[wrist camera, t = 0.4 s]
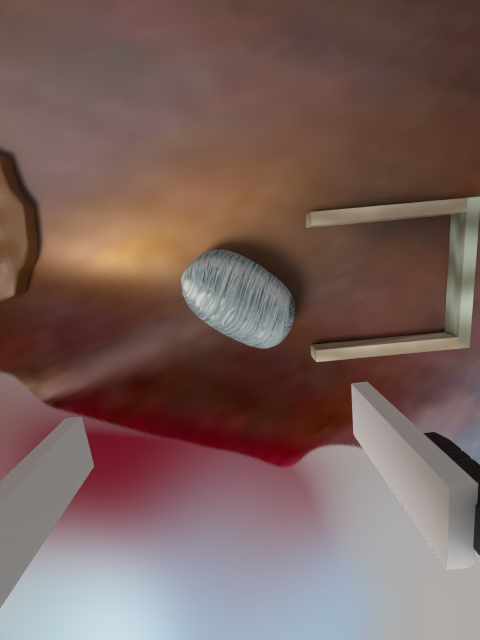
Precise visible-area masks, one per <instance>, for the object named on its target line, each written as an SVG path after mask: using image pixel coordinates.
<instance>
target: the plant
mask: <svg viewBox="0 0 480 640" xmlns="http://www.w3.org/2000/svg"><path fill="white" fill-rule="evenodd" d="M38 248H39V243H38V236H37V228H36V217H35V211H34V208H33V206H32V205H31V203H30V202H29V201H28V200H27V199H26V197H25V196H24V195H23V193H22V191H21V189H20V187H19V184H18V181H17V178H16V176H15V173H14V168H13V164H12V160H11V159H9V158H7V157H4V156H2V155H0V302H3V301H7V300H11V299H14V298H17V297H20V296H22V295H24V294H25V293H26V290H27V285H28V280H29V276H30V273H31V270H32V268H33V267H34V265H35V263H36V261H37V256H38Z"/></svg>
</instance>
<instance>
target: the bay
mask: <svg viewBox="0 0 480 640" xmlns="http://www.w3.org/2000/svg"><path fill="white" fill-rule="evenodd" d="M479 213H480V197H472V198H461V199H449V200H438V201H427V202H416V203H405V204H394V205H383V206H372V207H361V208H350V209H339V210H328V211H317V212H310V213H308V214H306V215H305V218H306V228H310V227H321V226H332V225H343V224H354V223H365V222H376V221H387V220H398V219H409V218H420V217H431V216H442V215H451V225H450V243H449V261H448V279H447V297H446V315H445V332H442V333H431V334H420V335H410V336H399V337H388V338H378V339H367V340H356V341H346V342H335V343H324V344H314V345H311V356H312V357H313V358H314V360H315V361H316V362H320V361H331V360H342V359H352V358H363V357H373V356H384V355H395V354H405V353H416V352H426V351H437V350H448V349H458V348H469V347H470V333H471V320H472V307H473V293H474V280H475V266H476V253H477V240H478V226H479Z"/></svg>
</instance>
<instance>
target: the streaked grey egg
mask: <svg viewBox="0 0 480 640" xmlns="http://www.w3.org/2000/svg"><path fill="white" fill-rule="evenodd" d="M181 288H182V293H183V296H184V298H185V301H186V303H187V304H188V306H189V307H190V309H191V310H192V311H193V312H194V313H195V314H196V315H197V316H198V317H199V318H200V319H202V320H203V321H204V322H206V323H207V324H208V325H210V326H211V327H213V328H214V329H216V330H218V331H219V332H221V333H223V334H225V335H227V336H229V337H231V338H233V339H235V340H237V341H239V342H242V343H244V344H247V345H249V346H253V347H257V348H263V349H264V348H270V347H273V346H276V345H277V344H279V343H281V342H282V341H283V340H284V339H285V337H286V336H287V335H288V333H289V331H290V329H291V327H292V324H293V321H294V316H295V304H294V300H293V297H292V295H291V293H290V292H289V290H288V289H287V287H286V286H285V285H284V284H283V283H282V282H280V281H279V280H278V279H277V278H276V277H275V276H273V275H272V274H271V273H269V272H268V271H267V270H266V269H264V268H263V267H262V266H260V265H259V264H257V263H255V262H253V261H252V260H250V259H248V258H246V257H244V256H242V255H240V254H237V253H235V252H231V251H228V250H224V249H212V250H209V251H206V252H204V253H202V254H201V255H200V256H198V257H197V258H196V259H195V260H194V261H193V262H192V263H191V264H190V266H188V267H187V269H186V270H185V272H184V273H183V275H182V278H181Z"/></svg>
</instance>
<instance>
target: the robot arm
mask: <svg viewBox="0 0 480 640" xmlns="http://www.w3.org/2000/svg"><path fill="white" fill-rule="evenodd" d="M351 387H352V410H353V433H354V436H355V437H356V439H357V440H358V442H359V443H360V445H361V446H362V448H363V449H364V450H365V452H366V453H367V455H368V456H369V458H370V459H371V461H372V462H373V464H374V465H375V466H376V468H377V469H378V471H379V472H380V473H381V475H382V477H383V478H384V480H385V481H386V482H387V484H388V485H389V487H390V488H391V490H392V491H393V493H394V494H395V496H396V497H397V498H398V500H399V501H400V503H401V504H402V506H403V507H404V509H405V510H406V512H407V513H408V514H409V516H410V517H411V519H412V520H413V522H414V523H415V525H416V526H417V528H418V529H419V530H420V532H421V533H422V535H423V536H424V538H425V539H426V541H427V542H428V543H429V545H430V546H431V548H432V549H433V551H434V552H435V554H436V555H437V557H438V558H439V560H440V561H441V562H442V564H443V565H444V567H445V568H446V570H453V569H462V568H470V567H474V551H475V550H476V552H477V553H478V554H479V555H480V465H479V464H478V463H477V462H476V461H474V460H473V459H471V457H470V456H468V455H467V454H466V453H465V452H464V451H461V449H460V448H459V447H458V446H457V445H455V444H454V443H453V442H452V441H451V440H449V439H447V438H445V437H443V436H441V435H439V434H437V433H435V432H431V433H422V432H421V431H420V430H419V429H418V428H417V427H416V426H415V425H414V424H413V423H411V422H410V421H409V420H408V419H407V418H406V417H405V416H404V415H403V414H402V413H401V412H399V411H398V410H397V409H396V408H395V407H394V406H393V405H392V404H391V403H390V402H389V401H387V400H386V399H385V398H384V397H383V396H382V395H381V394H380V393H379V392H378V391H377V390H375V389H374V388H373V387H372V386H371V385H370V384H369V383H368V382H361V383H353V384H351ZM93 467H94V464H93V460H92V456H91V452H90V449H89V445H88V440H87V437H86V433H85V428H84V425H83V420H82V417H74V418H66V419H65V420H64V421H63V422H61V423H60V424H59V426H57V427H56V428H55V429H54V430H53V431H52V432H51V433H50V434H49V435H48V436H47V437H46V438H45V439H44V440H43V441H42V442H41V443H40V444H39V445H38V446H37V447H36V448H35V449H34V450H33V451H32V452H30V453H29V454H28V456H27V457H25V458H24V459H23V460H22V461H21V462H20V463H19V464H18V465H17V466H16V467H15V468H14V469H13V470H12V471H11V472H10V473H9V474H8V475H7V476H6V477H5V478H4V479H3V480H2V481H1V482H0V608H1V606H2V605H3V603H4V602H5V600H6V599H7V597H8V596H9V594H10V592H11V591H12V589H13V588H14V586H15V585H16V583H17V582H18V580H19V579H20V577H21V576H22V574H23V573H24V571H25V570H26V568H27V567H28V565H29V564H30V562H31V561H32V559H33V557H34V556H35V555H36V553H37V552H38V550H39V548H40V547H41V545H42V544H43V542H44V541H45V540H46V538H47V537H48V535H49V533H50V532H51V530H52V529H53V527H54V526H55V524H56V523H57V521H58V520H59V518H60V517H61V515H62V513H63V512H64V511H65V509H66V508H67V506H68V505H69V503H70V502H71V500H72V498H73V497H74V496H75V494H76V493H77V491H78V490H79V488H80V486H81V485H82V483H83V482H84V481H85V479H86V477H87V476H88V474H89V473H90V471H91V470H92V468H93Z"/></svg>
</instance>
